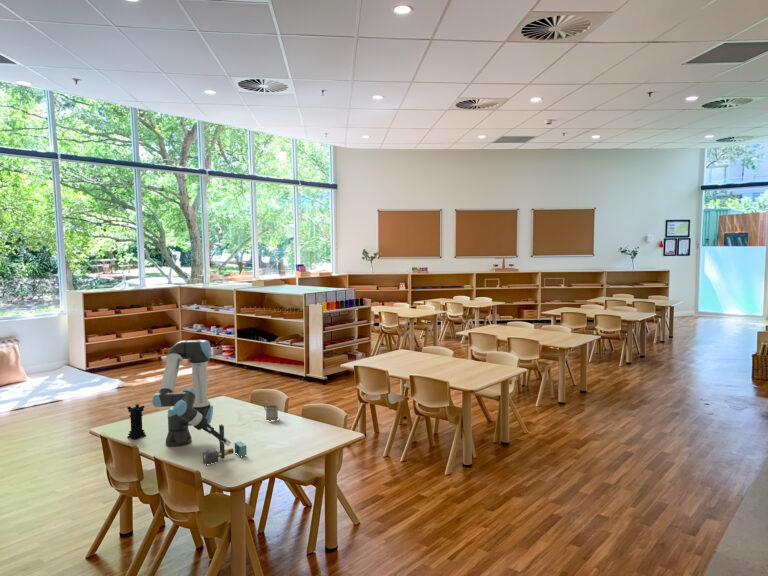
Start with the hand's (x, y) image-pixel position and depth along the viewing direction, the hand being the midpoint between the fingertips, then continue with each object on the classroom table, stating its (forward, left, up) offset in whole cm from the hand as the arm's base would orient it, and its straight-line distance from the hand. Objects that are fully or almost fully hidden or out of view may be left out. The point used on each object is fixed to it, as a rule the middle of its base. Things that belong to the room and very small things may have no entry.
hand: (224, 440), depth 291 cm
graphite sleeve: (0, -8, -10) cm, 13 cm away
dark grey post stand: (0, -4, -9) cm, 10 cm away
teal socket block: (0, +9, -10) cm, 14 cm away
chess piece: (-72, -31, -11) cm, 79 cm away
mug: (-49, +52, -11) cm, 72 cm away
